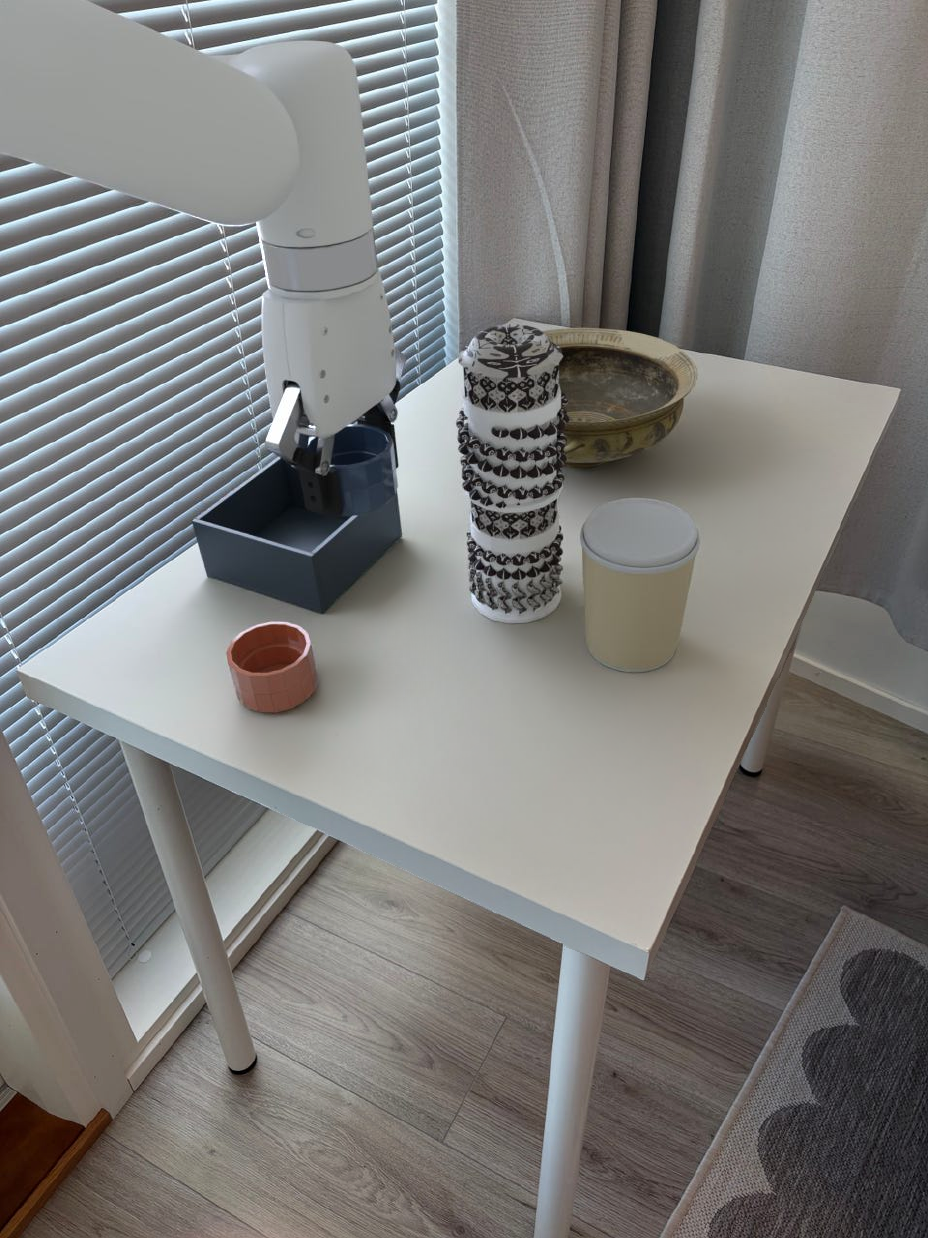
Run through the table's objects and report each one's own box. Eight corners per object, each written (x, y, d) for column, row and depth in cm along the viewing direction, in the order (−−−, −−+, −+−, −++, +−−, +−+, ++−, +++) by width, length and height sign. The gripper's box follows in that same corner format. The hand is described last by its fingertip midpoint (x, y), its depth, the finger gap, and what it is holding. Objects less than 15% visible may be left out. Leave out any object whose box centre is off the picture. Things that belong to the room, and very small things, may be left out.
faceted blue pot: (319, 526, 72) (310, 474, 69) (305, 483, 77) (296, 433, 74) (406, 509, 73) (401, 457, 70) (387, 467, 78) (381, 417, 75)
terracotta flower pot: (242, 725, 77) (231, 684, 74) (233, 672, 82) (222, 632, 79) (325, 705, 78) (317, 664, 75) (311, 654, 83) (303, 614, 80)
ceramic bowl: (653, 538, 94) (660, 449, 88) (433, 499, 102) (426, 415, 96) (712, 406, 115) (722, 326, 109) (527, 382, 123) (526, 306, 117)
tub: (322, 614, 88) (311, 556, 83) (206, 576, 93) (191, 520, 89) (402, 536, 97) (396, 481, 93) (292, 506, 103) (282, 453, 98)
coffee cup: (705, 633, 83) (721, 516, 75) (654, 695, 77) (666, 575, 69) (611, 597, 87) (617, 484, 80) (556, 653, 82) (557, 537, 74)
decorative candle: (583, 582, 89) (591, 323, 73) (535, 638, 83) (533, 370, 68) (499, 556, 93) (490, 305, 78) (448, 607, 87) (427, 347, 72)
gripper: (349, 216, 71) (375, 431, 82) (189, 295, 59) (245, 533, 70) (435, 226, 68) (450, 449, 79) (283, 312, 56) (326, 558, 67)
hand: (353, 487), depth 74 cm, fingers closed on faceted blue pot, 6 cm apart
